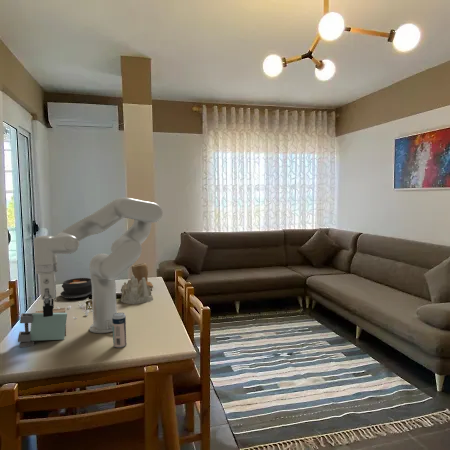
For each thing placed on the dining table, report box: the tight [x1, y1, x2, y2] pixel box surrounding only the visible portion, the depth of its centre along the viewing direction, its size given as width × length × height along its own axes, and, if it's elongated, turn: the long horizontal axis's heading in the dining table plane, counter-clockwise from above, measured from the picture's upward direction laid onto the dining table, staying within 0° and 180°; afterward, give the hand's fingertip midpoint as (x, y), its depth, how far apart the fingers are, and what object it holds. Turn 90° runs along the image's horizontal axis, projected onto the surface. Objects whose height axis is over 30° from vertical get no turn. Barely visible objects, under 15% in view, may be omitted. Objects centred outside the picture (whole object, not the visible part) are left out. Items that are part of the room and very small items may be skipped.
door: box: [17, 312, 68, 343], centre depth 137 cm, size 4×16×10 cm, turn 115°
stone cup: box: [131, 262, 154, 289], centre depth 217 cm, size 15×12×15 cm
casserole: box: [60, 277, 92, 299], centre depth 203 cm, size 25×19×8 cm
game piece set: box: [56, 301, 93, 320], centre depth 171 cm, size 19×20×4 cm
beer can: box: [112, 312, 127, 349], centre depth 133 cm, size 5×5×12 cm
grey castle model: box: [120, 274, 154, 305], centre depth 193 cm, size 16×16×15 cm
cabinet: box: [19, 307, 67, 348], centre depth 143 cm, size 17×16×12 cm
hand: (48, 312), depth 137 cm, fingers open, 9 cm apart
